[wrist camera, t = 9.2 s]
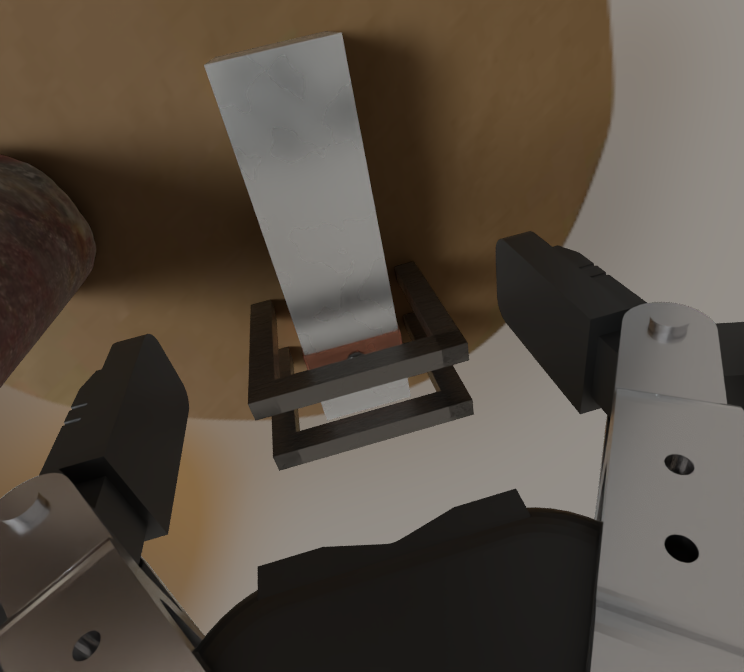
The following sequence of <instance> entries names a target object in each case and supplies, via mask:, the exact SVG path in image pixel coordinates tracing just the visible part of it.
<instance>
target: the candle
mask: <svg viewBox="0 0 744 672" xmlns="http://www.w3.org/2000/svg"><path fill="white" fill-rule="evenodd" d="M95 255H96V243H95V241H94V237H93V233H92V230H91V228H90V226H89V224H88V223H87V221H86V220H85V218H84V217H83V216H82V215H81V213H80V212H79V211H78V209H77V207H76V206H75V204H74V203H73V202H72V201H71V199H70V198H69V197H68V196H67V194H66V193H65V192H64V191H63V190H62V189H60V188H59V187H58V186H57V185H56V184H55V182H54V181H53V180H52V179H51V178H49V177H48V176H47V175H45V174H44V173H43V172H42V171H40V170H38V169H37V168H35V167H33V166H32V165H30V164H28V163H25V162H22V161H19V160H16V159H14V158H11V157H8V156H4V155H0V387H1V386H2V385H3V384H4V382H5V381H6V380H7V378H8V377H9V376H10V375H11V373H12V372H13V371H14V370H15V368H16V367H17V366H18V365H19V363H20V362H21V361H22V360H23V358H24V357H25V356H26V355H27V354H28V352H29V351H30V350H31V349H32V347H33V346H34V345H35V343H36V342H37V341H38V340H39V338H40V337H41V336H42V335H43V333H44V332H45V331H46V330H47V328H48V327H49V326H50V325H51V323H52V322H53V321H54V320H55V318H56V317H57V316H58V315H59V313H60V312H61V311H62V310H63V308H64V307H65V306H66V304H67V303H68V302H69V301H70V299H71V298H72V297H73V295H74V294H75V293H76V292H77V290H78V289H79V288H80V286H81V285H82V284H83V282H84V281H85V280H86V278H87V277H88V275H89V274H90V272H91V271H92V269H93V266H94V260H95Z"/></svg>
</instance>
